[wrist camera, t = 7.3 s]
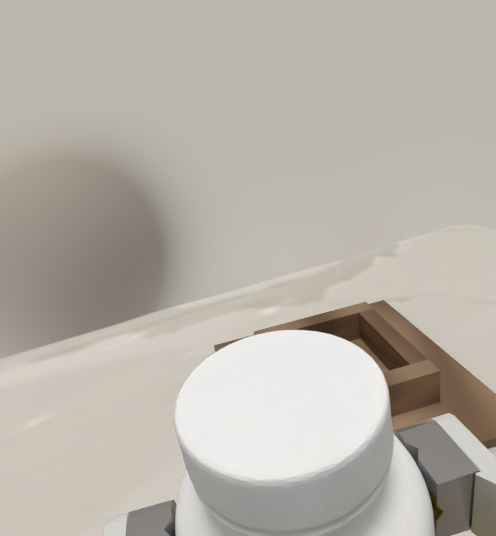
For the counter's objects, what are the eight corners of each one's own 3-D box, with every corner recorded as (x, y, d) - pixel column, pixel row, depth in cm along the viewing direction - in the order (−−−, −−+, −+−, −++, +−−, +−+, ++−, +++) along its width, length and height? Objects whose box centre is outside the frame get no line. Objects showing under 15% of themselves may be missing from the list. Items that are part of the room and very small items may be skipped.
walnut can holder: (254, 524, 20) (243, 482, 19) (215, 351, 35) (208, 322, 33) (532, 433, 22) (538, 391, 21) (384, 305, 36) (382, 276, 35)
